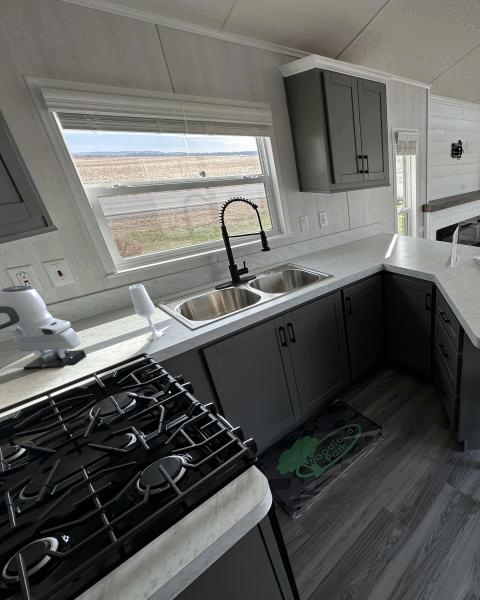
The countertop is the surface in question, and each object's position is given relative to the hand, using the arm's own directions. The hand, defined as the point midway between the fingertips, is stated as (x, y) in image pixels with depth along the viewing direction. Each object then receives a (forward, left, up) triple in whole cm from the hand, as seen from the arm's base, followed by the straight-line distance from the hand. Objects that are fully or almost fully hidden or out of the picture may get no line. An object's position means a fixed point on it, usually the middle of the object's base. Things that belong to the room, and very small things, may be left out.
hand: (57, 357), depth 127 cm
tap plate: (-1, 0, -3) cm, 3 cm away
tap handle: (0, 0, 0) cm, 0 cm away
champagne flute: (+25, +19, -3) cm, 31 cm away
